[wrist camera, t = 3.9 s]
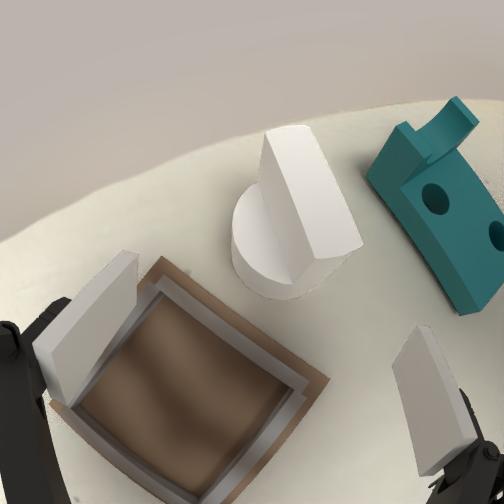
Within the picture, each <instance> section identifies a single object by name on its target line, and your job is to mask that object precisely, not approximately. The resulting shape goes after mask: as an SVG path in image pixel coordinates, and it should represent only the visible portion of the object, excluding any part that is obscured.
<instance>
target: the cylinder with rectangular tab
mask: <svg viewBox="0 0 504 504" xmlns="http://www.w3.org/2000/svg"><path fill="white" fill-rule="evenodd" d="M362 245H363V241H362V239H361V236H360V234H359V231H358V229H357V227H356V224H355V222H354V220H353V217H352V215H351V213H350V210H349V208H348V206H347V203H346V201H345V199H344V197H343V195H342V192H341V190H340V188H339V186H338V184H337V181H336V179H335V177H334V175H333V173H332V171H331V169H330V167H329V165H328V163H327V160H326V158H325V156H324V154H323V152H322V150H321V148H320V146H319V144H318V142H317V140H316V138H315V136H314V134H313V133H312V131H311V129H310V127H309V126H307V125H288V126H283V127H279V128H275V129H272V130H269V131H267V132H265V136H264V142H263V148H262V154H261V160H260V166H259V172H258V178H257V182H256V183H254V184H253V185H251V186H250V187H248V189H247V190H246V191H245V192H244V193H243V194H242V196H241V197H240V198H239V200H238V203H237V205H236V207H235V209H234V213H233V221H232V237H231V255H232V261H233V265H234V268H235V270H236V272H237V274H238V276H239V278H240V279H241V280H242V281H243V282H244V284H245V285H246V286H247V287H248V288H250V289H251V290H253V291H254V292H255V293H257V294H259V295H261V296H264V297H267V298H269V299H276V300H288V299H294V298H298V297H300V296H302V295H304V294H306V293H308V292H310V291H311V290H312V289H313V288H314V287H315V286H317V285H318V284H319V283H320V282H321V281H322V280H324V279H325V278H326V277H327V276H328V275H329V274H330V273H332V272H333V271H334V270H335V269H336V268H337V267H338V266H340V265H341V264H342V263H343V262H344V261H345V260H346V259H348V258H349V257H350V256H351V255H352V254H353V253H354V252H355V251H356V250H358V249H359V248H360V247H361V246H362Z"/></svg>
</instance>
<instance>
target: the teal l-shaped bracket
mask: <svg viewBox="0 0 504 504" xmlns="http://www.w3.org/2000/svg"><path fill="white" fill-rule="evenodd" d="M478 123H479V121H478V119H477V118H476V117H475V116H474V115H473V114H472V113H471V111H470V110H469V109H468V108H467V107H466V106H465V105H464V104H463V103H462V101H461V100H460V99H459V98H458V97H457V96H456V97H453V98H451V99H450V100H449V101H448V103H447V104H446V105H445V106H444V108H443V109H442V110H441V111H440V112H439V113H438V114H437V115H436V116H435V117H434V118H433V119H432V120H431V121H430V122H428V123H427V124H426V125H425V126H423V127H422V128H420V129H419V130H417V131H415V130H414V129H413V128H412V127H411V126H410V125H409V124H408V123H407V122H406V121H405V122H403V123H401V124H399V125H397V126H395V128H394V130H393V132H392V133H391V135H390V137H389V138H388V140H387V142H386V143H385V145H384V147H383V148H382V150H381V152H380V153H379V155H378V156H377V158H376V160H375V161H374V163H373V165H372V166H371V168H370V169H369V171H368V173H367V174H366V176H365V177H366V178H367V180H368V181H369V182H370V183H371V185H372V186H373V187H374V189H375V190H376V191H377V192H378V194H379V195H380V196H381V198H382V199H383V200H384V201H385V203H386V204H387V205H388V207H389V208H390V209H391V211H392V212H393V213H394V215H395V216H396V218H397V219H398V220H399V222H400V223H401V224H402V226H403V227H404V229H405V230H406V231H407V233H408V234H409V236H410V237H411V239H412V240H413V241H414V243H415V244H416V246H417V247H418V249H419V250H420V252H421V253H422V255H423V256H424V258H425V259H426V261H427V262H428V264H429V265H430V267H431V269H432V270H433V272H434V273H435V275H436V276H437V278H438V280H439V281H440V283H441V285H442V286H443V288H444V289H445V291H446V293H447V294H448V296H449V298H450V300H451V301H452V303H453V305H454V306H455V308H456V310H457V312H458V313H459V315H460V316H462V315H467V314H471V313H476V312H480V311H481V310H482V309H483V308H484V306H485V305H486V304H487V303H488V302H489V300H490V299H491V298H492V297H493V295H494V294H495V293H496V292H497V290H498V289H499V288H500V287H501V285H502V284H503V283H504V215H503V213H502V212H501V210H500V208H499V207H498V205H497V204H496V202H495V201H494V199H493V198H492V196H491V195H490V193H489V192H488V190H487V189H486V187H485V186H484V185H483V183H482V182H481V180H480V179H479V178H478V176H477V175H476V174H475V172H474V171H473V170H472V168H471V167H470V166H469V164H468V163H467V162H466V160H465V159H464V158H463V156H462V155H461V154H460V153H459V151H458V150H457V149H456V148H457V147H458V146H459V145H460V144H461V143H462V142H463V141H464V139H465V138H466V137H467V136H468V135H469V134H470V133H471V131H472V130H473V129H474V128H475V127H476V126H477V125H478ZM424 203H425V204H424ZM425 205H426V206H427V207H428V208H427V207H426V206H425ZM428 209H429V210H428Z"/></svg>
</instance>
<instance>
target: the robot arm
mask: <svg viewBox="0 0 504 504" xmlns="http://www.w3.org/2000/svg"><path fill="white" fill-rule="evenodd" d="M137 272H138V254H135V253H131V252H128V251H124V250H123V251H122V252H121V253H120V254H119V255H118V256H117V257H116V258H115V259H113V260H112V261H111V262H110V263H109V264H108V265H107V266H106V267H105V268H104V269H103V270H102V271H101V272H100V273H99V274H98V275H97V276H96V277H95V278H94V279H93V280H92V281H91V282H90V283H89V284H88V285H87V286H86V287H85V288H84V289H83V290H82V291H81V292H80V293H79V294H78V295H77V296H76V297H75V298H74V299H73V300H71V299H68V298H66V297H62V298H60V299H58V300H56V301H54V302H52V303H51V304H50V305H49V306H48V307H47V308H46V309H45V312H44V311H43V312H42V313H41V314H40V315H39V318H36V319H35V321H34V322H33V323H32V324H31V325H30V326H29V327H28V328H27V329H26V330H25V331H24V332H23V333H22V334H21V335H20V331H19V328H18V327H17V326H16V324H15V323H12V322H10V321H0V474H1V479H2V483H3V488H4V492H5V497H6V501H7V504H71V501H70V498H69V495H68V493H67V490H66V487H65V484H64V481H63V478H62V474H61V471H60V468H59V464H58V461H57V457H56V454H55V450H54V446H53V442H52V438H51V434H50V430H49V425H48V420H47V416H46V411H45V405H44V400H43V397H42V394H43V392H44V391H45V390H46V388H47V390H48V393H49V395H50V397H51V398H53V399H54V400H56V401H58V402H60V403H62V404H64V405H66V406H68V404H69V403H70V401H71V400H72V398H73V397H74V395H75V393H76V392H77V390H78V389H79V387H80V386H81V384H82V383H83V381H84V380H85V378H86V377H87V375H88V374H89V372H90V371H91V369H92V367H93V366H94V365H95V363H96V362H97V360H98V359H99V357H100V356H101V354H102V353H103V351H104V350H105V348H106V347H107V345H108V344H109V342H110V341H111V340H112V338H113V337H114V335H115V334H116V332H117V331H118V329H119V328H120V327H121V325H122V324H123V322H124V321H125V320H126V318H127V317H128V315H129V314H130V313H131V311H132V310H133V308H134V307H135V306H136V300H137ZM392 368H393V371H394V375H395V378H396V381H397V385H398V389H399V392H400V396H401V400H402V403H403V407H404V411H405V415H406V419H407V423H408V427H409V431H410V435H411V440H412V444H413V449H414V453H415V458H416V463H417V468H418V473H419V477H422V476H433V475H435V474H436V473H437V472H439V471H440V470H441V469H442V468H443V469H444V473H445V474H443V475H442V476H441V477H440V478H438V479H437V480H436V481H434V482H433V483H431V484H430V485H429V487H428V488H431V487H433V486H434V485H436V486H435V488H434V489H433V492H432V494H431V495H430V497H429V499H428V501H427V503H426V504H504V454H500V451H499V449H498V448H497V446H496V445H495V444H494V443H493V442H490V441H485V440H484V437H483V435H482V432H481V429H480V427H479V424H478V422H477V419H476V416H475V415H474V411H473V409H472V408H471V404H470V402H469V399H468V397H467V396H466V395H465V393H464V392H463V391H462V389H460V388H458V386H457V384H456V381H455V379H454V377H453V375H452V372H451V370H450V368H449V366H448V364H447V361H446V359H445V357H444V355H443V353H442V351H441V349H440V347H439V345H438V343H437V341H436V339H435V337H434V335H433V333H432V331H431V329H430V327H428V326H423V325H419V324H417V326H416V327H415V329H414V331H413V332H412V334H411V336H410V337H409V339H408V341H407V342H406V344H405V346H404V347H403V349H402V350H401V352H400V354H399V355H398V357H397V358H396V360H395V361H394V363H393V364H392ZM502 491H503V497H501V498H500V499H498V500H497V495H498V494H499V493H500V492H502Z"/></svg>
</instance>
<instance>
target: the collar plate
mask: <svg viewBox="0 0 504 504" xmlns="http://www.w3.org/2000/svg"><path fill="white" fill-rule="evenodd" d="M329 380H330V378H328V377H327V376H325V375H324V374H322V373H321V372H319V371H318V370H316V369H315V368H313V367H312V366H310V365H309V364H307V363H306V362H305V361H303V360H302V359H300V358H299V357H297V356H296V355H294V354H293V353H291V352H290V351H289V350H287V349H286V348H284V347H283V346H281V345H280V344H279V343H277V342H276V341H274V340H273V339H272V338H270V337H269V336H267V335H266V334H265V333H263V332H262V331H260V330H259V329H258V328H256V327H255V326H253V325H252V324H251V323H249V322H248V321H247V320H245V319H244V318H242V317H241V316H240V315H238V314H237V313H236V312H234V311H233V310H232V309H230V308H229V307H228V306H226V305H225V304H224V303H222V302H221V301H220V300H218V299H217V298H216V297H214V296H213V295H212V294H210V293H209V292H208V291H206V290H205V289H204V288H202V287H201V286H200V285H199V284H197V283H196V282H195V281H193V280H192V279H191V278H190V277H188V276H187V275H186V274H184V273H183V272H182V271H181V270H179V269H178V268H177V267H176V266H174V265H173V264H172V263H170V262H169V261H168V260H167V259H165V258H164V257H163V256H161V257H160V258H159V260H158V261H157V262H156V263H155V264H154V266H153V267H152V268H151V269H150V270H149V272H148V273H147V274H146V275H145V276H144V278H143V279H142V280H141V281H140V283H139V284H138V285H137V300H136V306H135V307H134V308H133V310H132V311H131V313H130V314H129V315H128V317H127V318H126V320H125V321H124V322H123V324H122V325H121V327H120V328H119V329H118V331H117V332H116V334H115V335H114V337H113V338H112V340H111V341H110V342H109V344H108V345H107V347H106V348H105V350H104V351H103V353H102V354H101V356H100V357H99V359H98V360H97V362H96V363H95V365H94V366H93V367H92V369H91V371H90V372H89V374H88V375H87V377H86V378H85V380H84V381H83V383H82V384H81V386H80V387H79V389H78V390H77V392H76V393H75V395H74V397H73V398H72V400H71V401H70V403H69V404H68V406H66V405H64V404H62V403H60V402H58V401H56V400H54V399H52V400H51V402H50V403H49V405H50V406H51V407H52V408H53V409H54V410H55V411H56V412H57V413H58V414H59V415H60V417H61V418H62V419H63V420H64V421H65V422H66V423H67V424H68V425H69V426H70V427H71V428H72V429H73V430H74V431H75V432H76V433H78V434H79V435H80V436H81V437H82V438H83V439H84V440H85V441H86V442H87V443H88V444H89V445H90V446H92V447H93V448H94V449H95V450H96V451H97V452H98V453H99V454H101V455H102V456H103V457H104V458H105V459H106V460H108V461H109V462H110V463H111V464H112V465H114V466H115V467H116V468H117V469H119V470H120V471H121V472H122V473H124V474H125V475H126V476H128V477H129V478H130V479H131V480H133V481H134V482H135V483H137V484H138V485H140V486H141V487H142V488H144V489H145V490H146V491H148V492H149V493H151V494H152V495H154V496H155V497H157V498H158V499H160V500H161V501H163V502H164V503H166V504H231V503H232V502H233V501H234V500H235V499H236V498H237V497H238V495H239V494H240V493H241V492H242V491H243V490H244V489H245V488H246V487H247V486H248V485H249V483H250V482H251V481H252V480H253V479H254V478H255V477H256V475H257V474H258V473H259V472H260V471H261V470H262V469H263V467H264V466H265V465H266V464H267V463H268V461H269V460H270V459H271V458H272V457H273V455H274V454H275V453H276V452H277V451H278V449H279V448H280V447H281V446H282V444H283V443H284V442H285V441H286V439H287V438H288V437H289V435H290V434H291V433H292V432H293V430H294V429H295V428H296V426H297V425H298V424H299V422H300V421H301V420H302V418H303V417H304V416H305V414H306V413H307V412H308V410H309V409H310V407H311V406H312V405H313V403H314V402H315V400H316V399H317V398H318V396H319V395H320V393H321V392H322V390H323V389H324V388H325V386H326V385H327V383H328V382H329Z"/></svg>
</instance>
